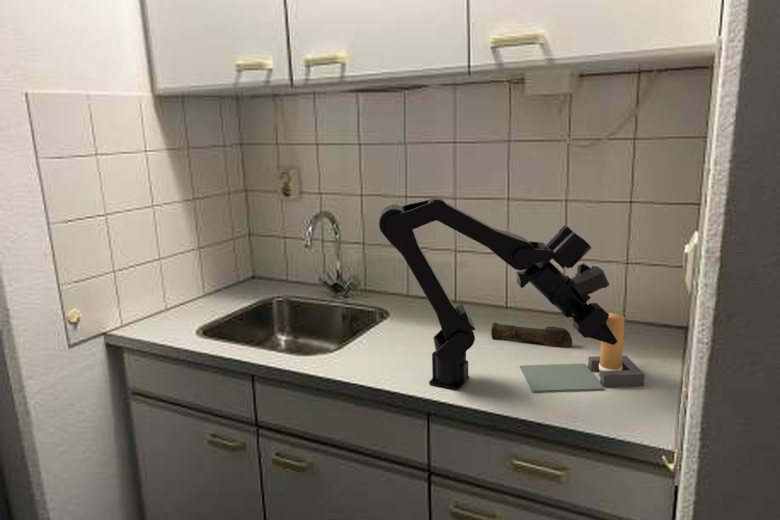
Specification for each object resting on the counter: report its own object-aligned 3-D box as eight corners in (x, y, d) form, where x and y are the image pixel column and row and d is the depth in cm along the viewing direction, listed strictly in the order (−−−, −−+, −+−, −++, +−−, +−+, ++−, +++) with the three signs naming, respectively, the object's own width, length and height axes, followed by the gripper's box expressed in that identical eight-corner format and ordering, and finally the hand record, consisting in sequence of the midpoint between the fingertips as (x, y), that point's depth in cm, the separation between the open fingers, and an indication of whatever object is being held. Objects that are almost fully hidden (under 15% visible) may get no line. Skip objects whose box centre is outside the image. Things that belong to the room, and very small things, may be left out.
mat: (532, 392, 117) (532, 390, 117) (519, 367, 129) (519, 365, 128) (604, 390, 117) (604, 388, 117) (584, 365, 128) (584, 363, 128)
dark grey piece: (603, 387, 118) (604, 375, 117) (588, 367, 127) (588, 356, 127) (643, 385, 118) (644, 374, 117) (625, 366, 127) (626, 355, 127)
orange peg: (602, 381, 120) (606, 320, 117) (595, 372, 125) (598, 313, 122) (625, 380, 120) (629, 320, 117) (616, 371, 125) (620, 312, 122)
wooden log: (489, 340, 145) (489, 322, 144) (494, 335, 148) (495, 317, 147) (568, 352, 136) (569, 333, 135) (572, 346, 139) (573, 328, 138)
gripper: (599, 267, 107) (657, 322, 110) (569, 245, 126) (619, 292, 128) (555, 310, 109) (612, 363, 112) (531, 282, 128) (581, 329, 130)
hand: (607, 334), depth 120 cm, fingers open, 9 cm apart
